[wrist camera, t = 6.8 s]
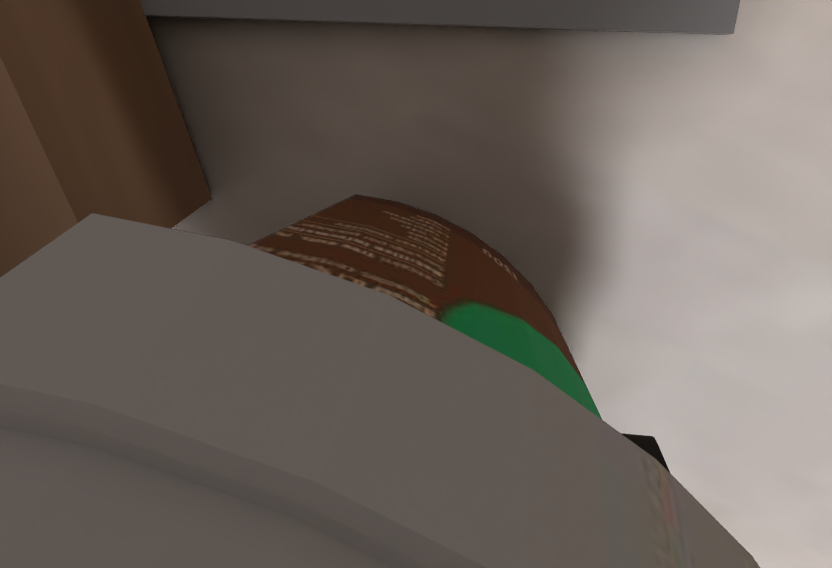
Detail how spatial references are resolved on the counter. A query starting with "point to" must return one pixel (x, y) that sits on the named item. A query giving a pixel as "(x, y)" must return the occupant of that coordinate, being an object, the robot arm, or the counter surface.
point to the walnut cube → (87, 124)
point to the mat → (476, 13)
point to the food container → (313, 409)
